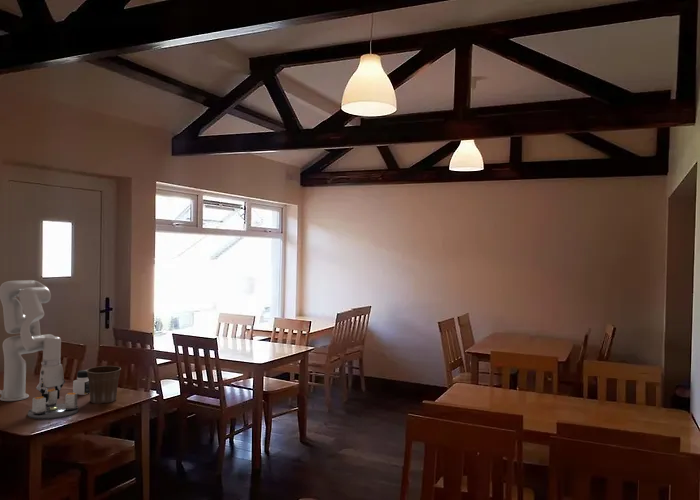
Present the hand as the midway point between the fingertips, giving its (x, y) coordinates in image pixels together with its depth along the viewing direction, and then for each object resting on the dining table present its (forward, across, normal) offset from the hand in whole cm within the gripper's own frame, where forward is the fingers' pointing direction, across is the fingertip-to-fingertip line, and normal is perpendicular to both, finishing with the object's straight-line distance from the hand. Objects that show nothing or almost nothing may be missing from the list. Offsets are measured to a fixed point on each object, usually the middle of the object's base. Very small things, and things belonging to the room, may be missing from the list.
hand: (50, 399), depth 272 cm
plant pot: (+5, +22, -10) cm, 25 cm away
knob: (+3, -12, -7) cm, 14 cm away
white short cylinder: (+3, 0, -14) cm, 14 cm away
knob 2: (+3, 0, 0) cm, 3 cm away
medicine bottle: (+5, +29, +11) cm, 31 cm away
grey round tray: (+4, -4, -7) cm, 9 cm away
